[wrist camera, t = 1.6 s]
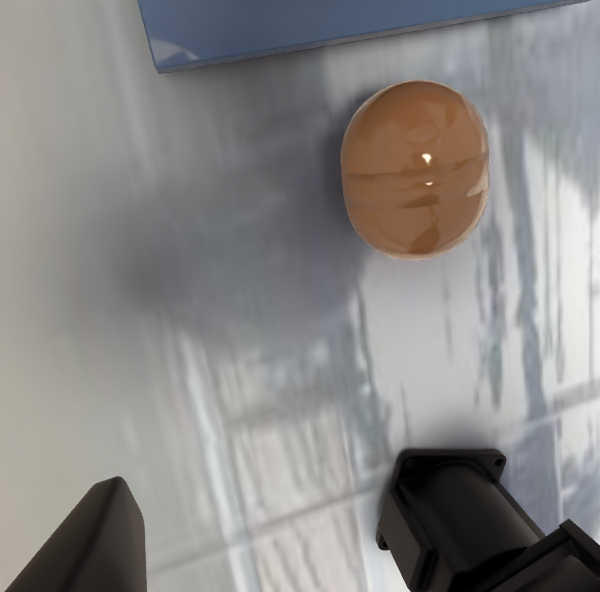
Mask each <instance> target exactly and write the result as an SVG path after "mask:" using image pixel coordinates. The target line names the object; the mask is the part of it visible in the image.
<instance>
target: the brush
mask: <svg viewBox="0 0 600 592" xmlns="http://www.w3.org/2000/svg"><path fill="white" fill-rule="evenodd" d="M587 1H590V0H138V4H139V8H140V11H141V15H142V19H143V23H144V27H145V31H146V34H147V38H148V42H149V46H150V50H151V53H152V57H153V61H154V65H155V68H156V70H157V71H158V73H159V74H163V73H169V72H175V71H181V70H187V69H193V68H198V67H204V66H210V65H216V64H222V63H228V62H234V61H240V60H246V59H252V58H258V57H264V56H269V55H275V54H281V53H287V52H293V51H299V50H305V49H311V48H317V47H323V46H329V45H334V44H340V43H346V42H352V41H358V40H364V39H370V38H376V37H382V36H388V35H394V34H400V33H405V32H411V31H417V30H423V29H429V28H435V27H441V26H447V25H453V24H459V23H465V22H470V21H476V20H482V19H488V18H494V17H500V16H506V15H512V14H518V13H524V12H530V11H535V10H541V9H547V8H553V7H559V6H565V5H571V4H577V3H583V2H587Z"/></svg>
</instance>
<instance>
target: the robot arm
mask: <svg viewBox="0 0 600 592" xmlns="http://www.w3.org/2000/svg"><path fill="white" fill-rule="evenodd" d="M409 459H410V460H409ZM408 460H409V461H408ZM407 461H408V462H407ZM505 464H506V457H505V456H504V455H503V454H502V453H501V452H500V451H497V450H408V451H405V452H403V453H402V454H401V455H400V456H399V458H398V462H397V465H396V469H395V472H394V476H393V479H392V483H391V486H390V489H389V490H388V492H387V496H386V500H385V503H384V507H383V510H382V514H381V517H380V521H379V529H378V532H377V536H376V542H377V545H378V547H379V549H381V550H390V552H391V554H392V556H393V558H394V560H395V562H396V564H397V566H398V568H399V571H400V573H401V575H402V577H403V579H404V581H405V583H406V585H407V588H408V589H409V590H410V591H411V592H600V545H599V544H598V543H596V542H595V541H594V540H593V539H592V538H591V537H589V536H588V535H587V534H586V533H585V532H584V531H583V530H581V529H580V528H579V527H578V526H577V525H576V524H575V523H573V522H572V521H571V520H570V519H567V520H566V521H564V522H563V523H561V524H560V525H559V527H560V528H558V529H556V530H555V531H553V532H552V533H550V534H549V535H547V536H546V535H545V534H544V533H543V532H542V531H541V530H540V528H539V527H538V526H537V525H536V524H535V523H534V522H533V520H532V519H531V518H530V517H529V516H528V515H527V513H526V512H525V511H524V510H523V509H522V508H521V507H520V505H519V504H518V503H517V502H516V501H515V500H514V498H513V497H512V496H511V495H510V494H509V493H508V492H507V490H506V489H505V488H504V487H503V486H502V485H501V483H500V482H499V480H500V477H501V474H502V472H503V469H504V466H505ZM5 592H147V580H146V553H145V527H144V520H143V516H142V513H141V511H140V509H139V507H138V505H137V503H136V501H135V499H134V497H133V495H132V493H131V491H130V489H129V487H128V485H127V483H126V481H125V480H124V479H123V478H122V477H119V476H117V477H114V478H111V479H108V480H105V481H102V482H99V483H96V484H95V485H93V486H92V488H91V489H90V490H89V491H88V492H87V493H86V495H85V496H84V497H83V498H82V499H81V501H80V502H79V503H78V504H77V505H76V507H75V508H74V509H73V510H72V511H71V513H70V514H69V515H68V516H67V517H66V519H65V520H64V521H63V522H62V523H61V525H60V526H59V527H58V528H57V529H56V531H55V532H54V533H53V534H52V535H51V537H50V538H49V539H48V540H47V541H46V543H45V544H44V545H43V546H42V547H41V549H40V550H39V551H38V552H37V553H36V555H35V556H34V557H33V558H32V559H31V561H30V562H29V563H28V564H27V565H26V567H25V568H24V569H23V570H22V571H21V573H20V574H19V575H18V576H17V577H16V579H15V580H14V581H13V582H12V583H11V585H10V586H9V587H8V588H7V589H6V591H5Z"/></svg>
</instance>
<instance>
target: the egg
mask: <svg viewBox="0 0 600 592" xmlns="http://www.w3.org/2000/svg"><path fill="white" fill-rule="evenodd" d="M340 172H341V180H342V187H343V194H344V202H345V206H346V210H347V214H348V217H349V219H350V222H351V224H352V226H353V228H354V229H355V231H356V232H357V233H358V235H359V236H360V237H361V239H362V240H363V241H364V242H366V243H367V244H368V245H369V246H370V247H371V248H372V249H374V250H376V251H378V252H380V253H381V254H383V255H385V256H387V257H391V258H395V259H398V260H403V261H422V260H428V259H432V258H436V257H438V256H441V255H443V254H445V253H447V252H449V251H451V250H453V249H454V248H456V247H457V246H458V245H459V244H461V243H462V242H463V241H464V240H466V239H467V238H468V236H469V235H470V234H471V233H472V232H473V231H474V229H475V228H476V226H477V225H478V223H479V221H480V219H481V217H482V215H483V213H484V210H485V207H486V204H487V201H488V195H489V145H488V137H487V132H486V129H485V126H484V123H483V120H482V118H481V116H480V115H479V113H478V111H477V110H476V108H475V106H474V105H473V104H472V103H471V102H470V101H469V100H468V99H467V98H466V97H465V96H464V95H463V94H461V93H460V92H458V91H457V90H455V89H454V88H452V87H451V86H448V85H445V84H443V83H440V82H437V81H432V80H424V79H416V80H405V81H402V82H398V83H395V84H391V85H389V86H387V87H385V88H383V89H382V90H380V91H378V92H376V93H375V94H374V95H372V96H371V97H370V98H369V99H367V100H366V101H365V102H364V103H363V104H362V105H361V107H360V108H359V109H358V110H357V111H356V112H355V114H354V115H353V117H352V119H351V121H350V122H349V124H348V126H347V128H346V131H345V134H344V137H343V139H342V144H341V151H340Z"/></svg>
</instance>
